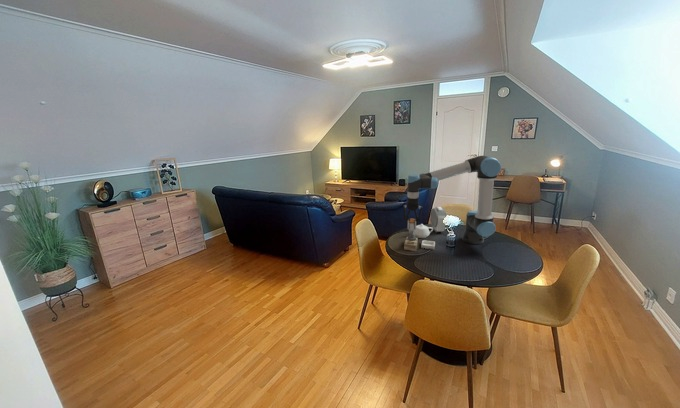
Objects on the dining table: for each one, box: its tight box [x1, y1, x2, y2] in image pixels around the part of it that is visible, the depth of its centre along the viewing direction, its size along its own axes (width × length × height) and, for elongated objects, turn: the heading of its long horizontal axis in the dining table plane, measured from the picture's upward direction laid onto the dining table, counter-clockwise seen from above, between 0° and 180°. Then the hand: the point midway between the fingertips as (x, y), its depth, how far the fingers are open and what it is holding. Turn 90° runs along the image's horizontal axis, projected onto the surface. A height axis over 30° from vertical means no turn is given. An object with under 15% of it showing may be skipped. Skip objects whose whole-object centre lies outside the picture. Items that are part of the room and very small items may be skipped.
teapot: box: [415, 223, 434, 239], centre depth 219 cm, size 20×12×10 cm, turn 96°
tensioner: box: [403, 235, 419, 252], centre depth 201 cm, size 14×8×7 cm, turn 159°
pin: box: [408, 218, 416, 238], centre depth 195 cm, size 4×4×13 cm
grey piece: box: [429, 206, 448, 233], centre depth 228 cm, size 18×8×20 cm, turn 179°
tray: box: [420, 239, 436, 251], centre depth 201 cm, size 9×9×2 cm
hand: (411, 229), depth 195 cm, fingers closed on pin, 4 cm apart
